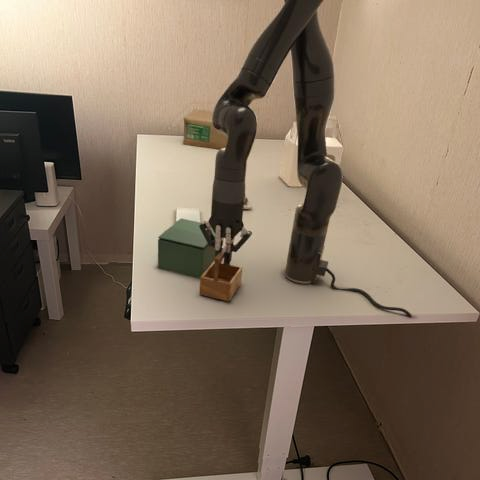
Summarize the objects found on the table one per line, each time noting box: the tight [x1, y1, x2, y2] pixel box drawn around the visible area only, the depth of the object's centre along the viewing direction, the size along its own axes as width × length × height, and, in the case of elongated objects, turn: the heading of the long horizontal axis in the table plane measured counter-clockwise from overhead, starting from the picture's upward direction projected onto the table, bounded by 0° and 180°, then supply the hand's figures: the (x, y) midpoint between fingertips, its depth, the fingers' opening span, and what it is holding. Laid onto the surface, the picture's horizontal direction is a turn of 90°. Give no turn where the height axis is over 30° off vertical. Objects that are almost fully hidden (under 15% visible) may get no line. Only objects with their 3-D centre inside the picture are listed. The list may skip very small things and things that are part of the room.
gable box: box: [279, 115, 344, 188], centre depth 199 cm, size 22×13×28 cm, turn 103°
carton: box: [157, 226, 215, 279], centre depth 130 cm, size 15×13×9 cm
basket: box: [198, 244, 243, 302], centre depth 118 cm, size 10×8×11 cm
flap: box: [170, 218, 216, 237], centre depth 130 cm, size 7×13×1 cm, turn 72°
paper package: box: [183, 108, 228, 150], centre depth 244 cm, size 27×26×14 cm
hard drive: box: [175, 207, 202, 223], centre depth 158 cm, size 2×8×12 cm
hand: (222, 263), depth 116 cm, fingers closed on basket, 1 cm apart
